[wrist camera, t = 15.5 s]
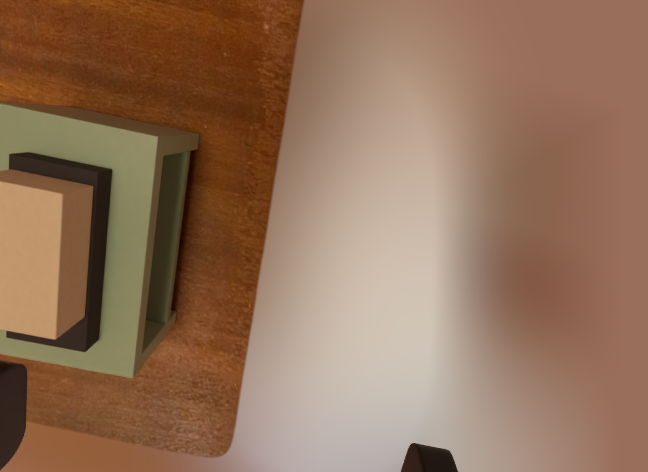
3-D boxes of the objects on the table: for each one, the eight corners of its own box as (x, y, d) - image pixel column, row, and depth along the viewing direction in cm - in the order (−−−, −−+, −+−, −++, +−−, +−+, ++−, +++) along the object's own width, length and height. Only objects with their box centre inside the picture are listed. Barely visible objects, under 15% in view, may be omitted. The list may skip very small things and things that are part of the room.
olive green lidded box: (71, 106, 39) (-14, 100, 29) (199, 133, 39) (158, 136, 30) (61, 301, 44) (-14, 351, 34) (175, 323, 44) (132, 378, 35)
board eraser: (28, 151, 30) (-36, 157, 25) (112, 169, 30) (66, 178, 25) (24, 325, 34) (-33, 363, 28) (99, 339, 34) (56, 379, 28)
